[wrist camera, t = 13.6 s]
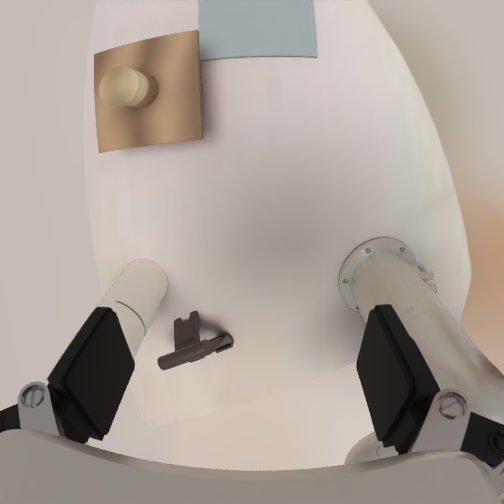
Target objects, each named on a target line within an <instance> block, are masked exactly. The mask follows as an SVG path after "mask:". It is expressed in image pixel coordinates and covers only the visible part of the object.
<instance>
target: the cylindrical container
mask: <svg viewBox="0 0 504 504" xmlns="http://www.w3.org/2000/svg"><path fill="white" fill-rule="evenodd" d="M167 288H168V280H167V277H166V274H165V273H164V271H163V270H162V269H161V268H160V267H159V266H158V265H157V264H155V263H154V262H152V261H149V260H144V259H138V260H135V261H133V262H131V263H130V264H129V265H128V266H127V268H126V269H125V270H124V271H123V273H122V274H121V275H120V276H119V278H118V279H117V280H116V281H115V283H114V284H113V285H112V287H111V288H110V289H109V290H108V292H107V293H106V294H105V296H104V297H103V298H102V299H101V301H100V302H99V303H98V305H97V306H96V307H110V308H112V309H113V311H114V312H116V314H117V316H118V319H119V322H120V325H121V328H122V330H123V333H124V336H125V338H126V341H127V344H128V346H129V349H130V351H131V354H132V357H133V359H134V358H135V356H136V354H137V351H138V349H139V347H140V345H141V343H142V341H143V338H144V336H145V334H146V332H147V330H148V328H149V326H150V324H151V322H152V320H153V317H154V315H155V313H156V311H157V309H158V307H159V305H160V303H161V301H162V299H163V297H164V295H165V293H166V291H167ZM96 307H95V308H96ZM93 311H94V310H93ZM90 315H91V314H90ZM87 319H88V318H87ZM85 322H86V321H85ZM82 326H83V325H82ZM80 329H81V328H80ZM77 333H78V332H77ZM75 336H76V335H75ZM73 339H74V338H73ZM70 343H71V342H70ZM68 346H69V345H68ZM66 349H67V348H66ZM64 352H65V351H64ZM62 355H63V354H62ZM60 358H61V357H60ZM58 361H59V360H58ZM56 364H57V363H56ZM54 367H55V366H54ZM52 370H53V369H52ZM51 372H52V371H51ZM49 375H50V374H49ZM47 378H48V377H47ZM48 383H49V382H48V380H47V379H46V380H45V382H44V384H45V385H46V386H47V385H48Z"/></svg>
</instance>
